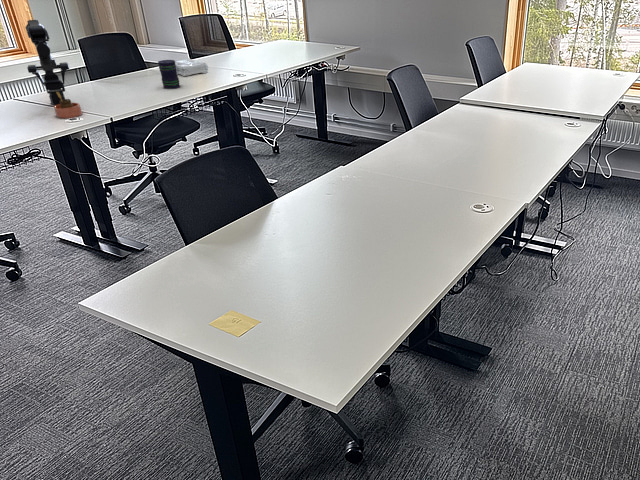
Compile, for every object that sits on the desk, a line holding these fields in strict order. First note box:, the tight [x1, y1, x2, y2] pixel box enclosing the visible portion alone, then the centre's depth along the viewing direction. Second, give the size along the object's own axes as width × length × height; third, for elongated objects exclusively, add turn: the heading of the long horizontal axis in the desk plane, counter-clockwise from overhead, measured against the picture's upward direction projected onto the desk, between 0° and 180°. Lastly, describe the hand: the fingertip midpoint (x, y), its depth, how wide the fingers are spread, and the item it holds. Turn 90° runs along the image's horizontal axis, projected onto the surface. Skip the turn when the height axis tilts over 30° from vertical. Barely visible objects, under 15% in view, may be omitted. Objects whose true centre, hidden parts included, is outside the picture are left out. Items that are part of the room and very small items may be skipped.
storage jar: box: [157, 59, 181, 90], centre depth 344 cm, size 10×10×15 cm
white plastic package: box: [174, 58, 209, 77], centre depth 383 cm, size 19×28×8 cm
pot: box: [53, 102, 83, 119], centre depth 294 cm, size 12×12×5 cm
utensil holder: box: [56, 90, 73, 108], centre depth 292 cm, size 6×6×12 cm
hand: (54, 84), depth 297 cm, fingers open, 9 cm apart
